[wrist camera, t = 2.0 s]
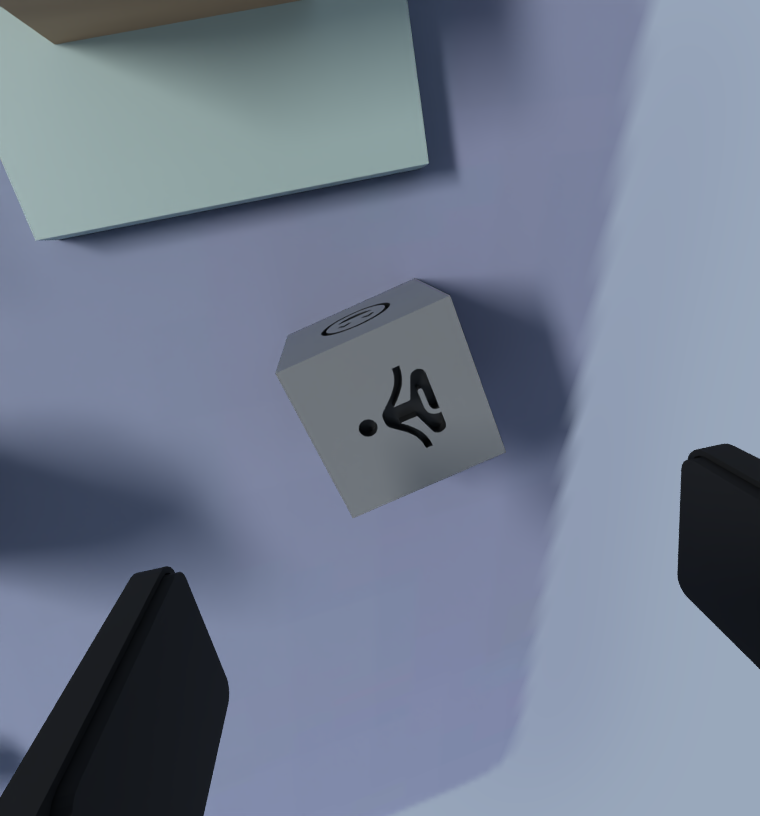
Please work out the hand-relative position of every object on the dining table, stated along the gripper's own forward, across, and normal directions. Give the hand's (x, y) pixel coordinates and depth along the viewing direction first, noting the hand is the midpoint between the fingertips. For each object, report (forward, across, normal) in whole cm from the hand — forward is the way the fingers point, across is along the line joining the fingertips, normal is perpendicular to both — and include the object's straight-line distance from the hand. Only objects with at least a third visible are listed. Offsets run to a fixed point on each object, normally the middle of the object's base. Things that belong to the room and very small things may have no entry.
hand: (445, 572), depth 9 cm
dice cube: (+10, 0, -1) cm, 10 cm away
